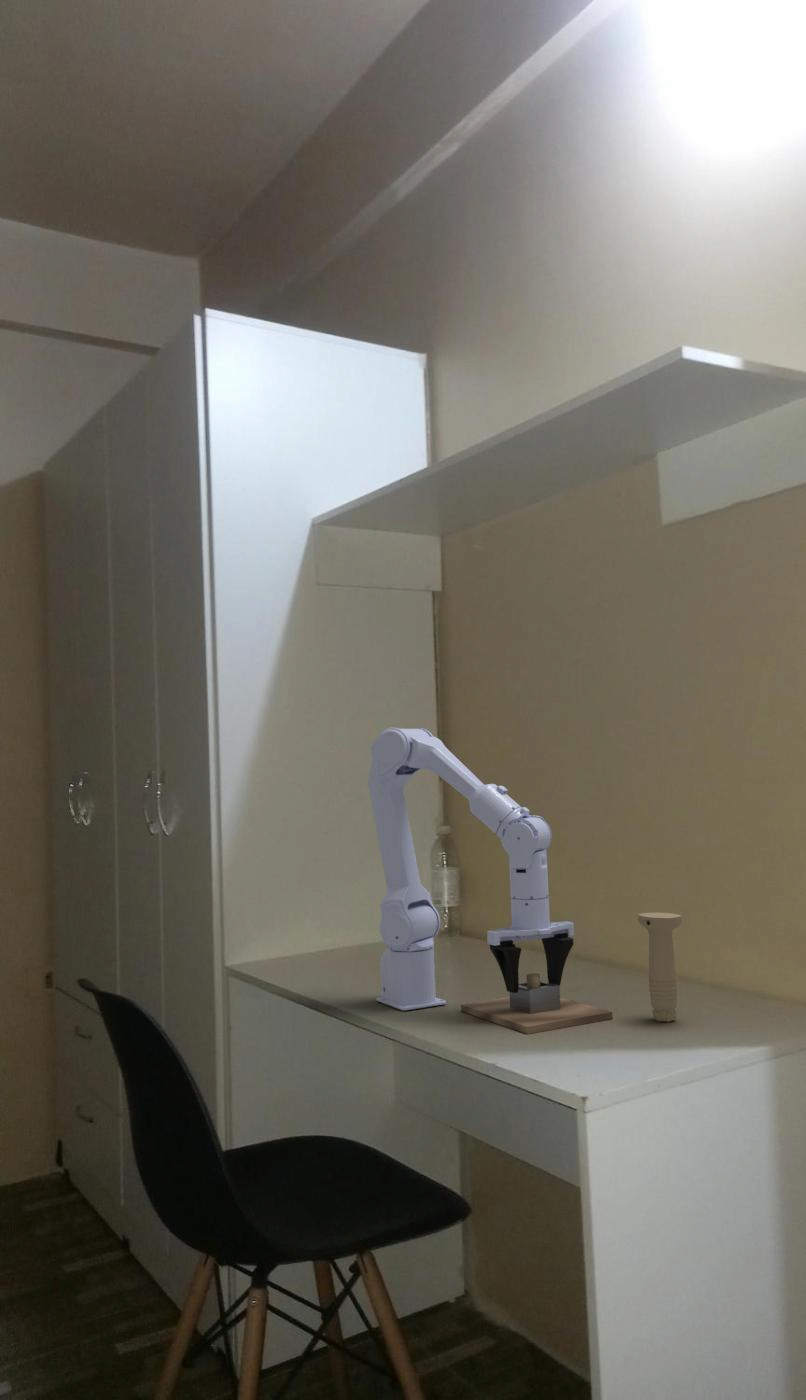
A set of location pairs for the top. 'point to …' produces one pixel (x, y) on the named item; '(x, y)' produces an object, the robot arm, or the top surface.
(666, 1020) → the handle
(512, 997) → the collar
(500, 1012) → the board
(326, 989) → the top surface
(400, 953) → the robot arm
